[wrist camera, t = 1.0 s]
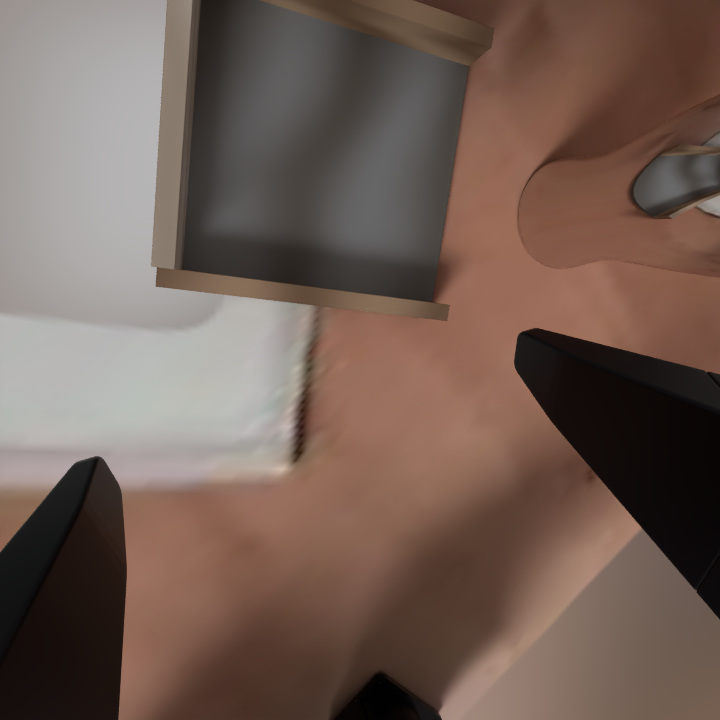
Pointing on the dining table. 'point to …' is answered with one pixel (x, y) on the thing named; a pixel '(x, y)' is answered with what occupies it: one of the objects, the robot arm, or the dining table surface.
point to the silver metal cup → (633, 201)
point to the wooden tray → (310, 149)
